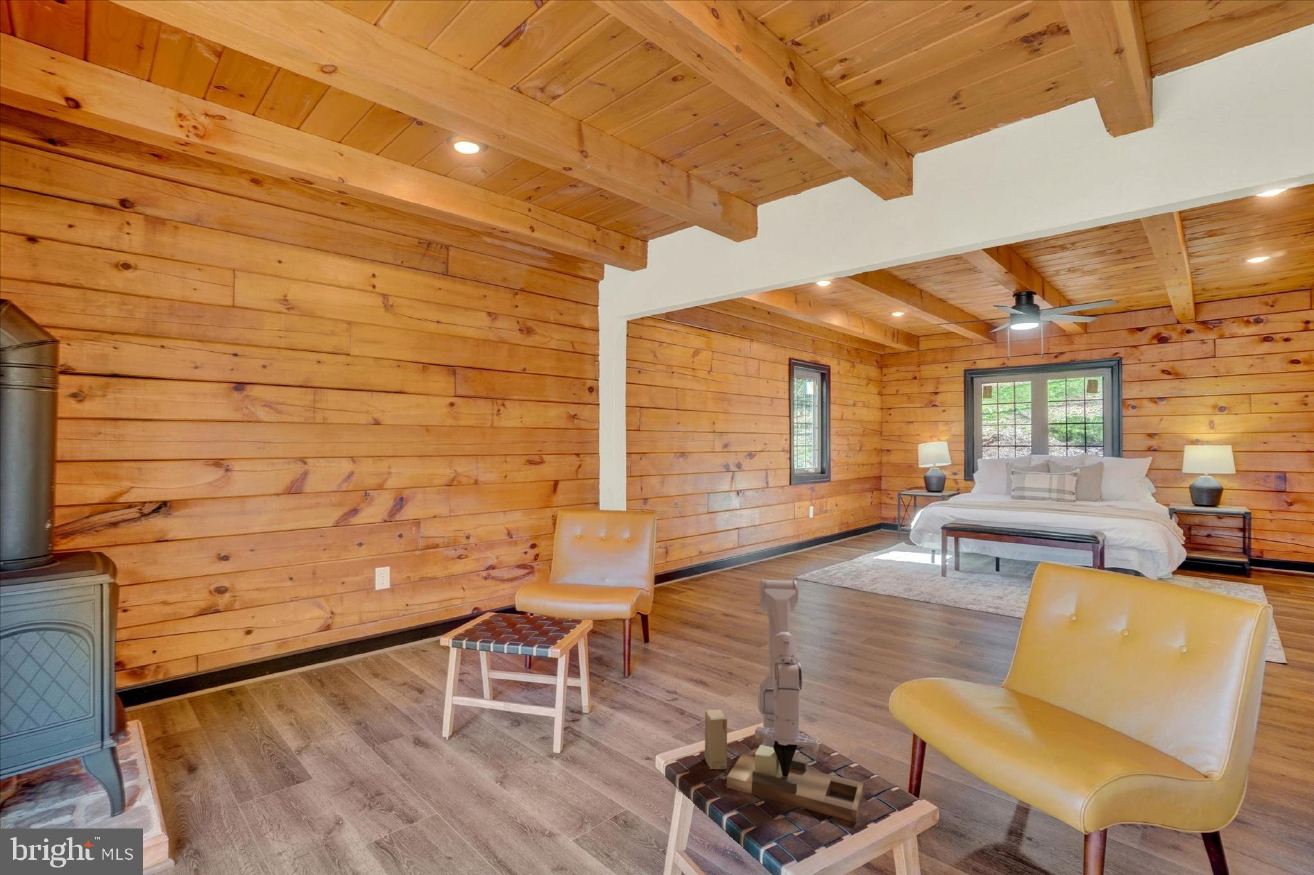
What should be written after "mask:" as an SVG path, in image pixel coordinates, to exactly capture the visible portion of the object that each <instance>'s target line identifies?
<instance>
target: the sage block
mask: <svg viewBox="0 0 1314 875" xmlns="http://www.w3.org/2000/svg"><path fill="white" fill-rule="evenodd" d="M754 756H755V772H759V773H763V774H767V775H771V776H774V777H778V775H779V773H780V771H781V766H780V763H779V760H778V757H777V755H776V753H775V751H774V748H773V747H768V746H764V745H762V744H760V745H759V747H758V748H757V749H756V751H755V753H754Z"/></svg>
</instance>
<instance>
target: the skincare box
mask: <svg viewBox="0 0 1314 875" xmlns="http://www.w3.org/2000/svg"><path fill="white" fill-rule="evenodd" d="M704 715H705V716H704V759H705V762H706V764H707V766H708V768H709V767H710V768H709V769H710V770H711V769H715V770H724V769H725V770H726V769H728V717H727V716H726V714H725V713H724V712H723V710H722V709H706V710H705V711H704Z"/></svg>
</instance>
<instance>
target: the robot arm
mask: <svg viewBox="0 0 1314 875" xmlns="http://www.w3.org/2000/svg"><path fill="white" fill-rule="evenodd" d="M758 585H759V587H758V588H759V589H758V590H759V592H758V593H759V607H760V610H761V611H764V612H765V613H766V615H767V619H768V666H769V667H768V675H767V676H766V677H765V678H764V679H762V680H760V682H759V684H758V693H757V694H758V695H757V698H758V701H757V702H758V703H757V704H758V705H757V706H758V712H759V713H760V715H763V722H762V724H763V725H762V726H763V727H762V726H756V728H755V730H754V738H755V739H760V738H761V739H762V743H761V745H764V746H768V747H773V748H774V751H775V753H776V755H777V757H778V760H779V763H780V766H781V771H782V776H785V777H788V775H789V771H790V766H791V762H792V759H794V756H795V754H796V751H797V749H798V748H799V747H800V748H806V749H809V750H811V751H813V752H816V753H817V752H818V751H819V748H820V747H819V746H820V744H819V739H816V738H813V737H811V736H807V735H806V734H803V733H800V691H802V689H803V688H802V687H803V680H804V678H803V669H802V665H801V662H800V659H799V658H798V657H799V656H798V650H797V640H796V638H795V637H794V636H793V635H792V634H791V612H793V611H795V608H796V606H797V605H798V602H799V587H798V586H799V585H798V582H797V581H796V580H795V579H794V580H780V579H764V578H761V580H760V581H759V584H758Z"/></svg>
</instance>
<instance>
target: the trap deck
mask: <svg viewBox="0 0 1314 875" xmlns="http://www.w3.org/2000/svg"><path fill="white" fill-rule="evenodd" d="M864 784H865V783H864V782H860V781H857V780H853V779H849V778H844V777H841V776H836V775H832V774H828V773H824V772H820V771H815V770H812V769H807V761H804V760H801V759H800V760H799V759H798V758H797V759H796V758H793V759H792V762H791V766H790V771H789V775H788V777H785V776H782V771H780V773H779V775H778V777H774V776H771V775H767V774H763V773H759V772H755V755H754V756H753V755H750V754H747V753H741V754H740V756H739V758H738V759H737V760H736V762H735V764H734V765H733V767H732V768H731V769H730V771H729V772H728V774H727V775H726V788H727V789H731V790H734V791H740V792H741V793H746V794H750V795H754V796H756V797H757V796H758V797H760V798H761V797H762V798H765V799H769V800H772V801H775V802H779V803H783V804H787V805H790V806H794V807H797V808H801V809H805V810H809V811H812V812H816V813H818V814H819V813H820V814H824V815H828V816H831V817H835V818H839V819H842V820H846V821H849V822H852V823H853V822H854V823H857V822H858V821H857V820H858V818H859V814H860V810H861V805H862V802H861V801H863V797H864Z"/></svg>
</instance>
